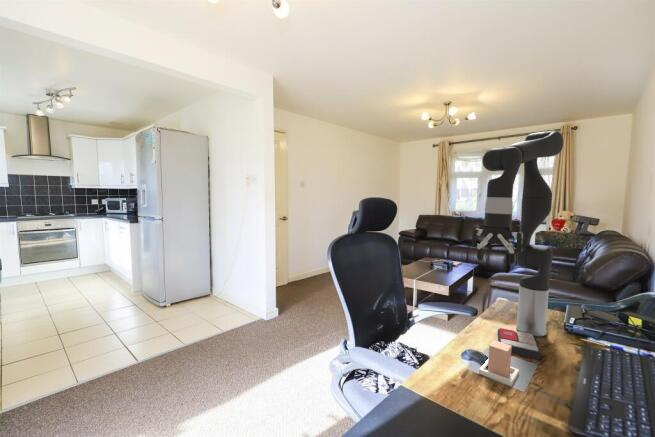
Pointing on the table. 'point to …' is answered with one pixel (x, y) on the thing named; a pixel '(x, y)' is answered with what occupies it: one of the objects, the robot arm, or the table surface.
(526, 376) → the build board
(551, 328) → the table surface
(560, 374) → the table surface
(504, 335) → the calculator
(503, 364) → the pillar block
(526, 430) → the table surface
